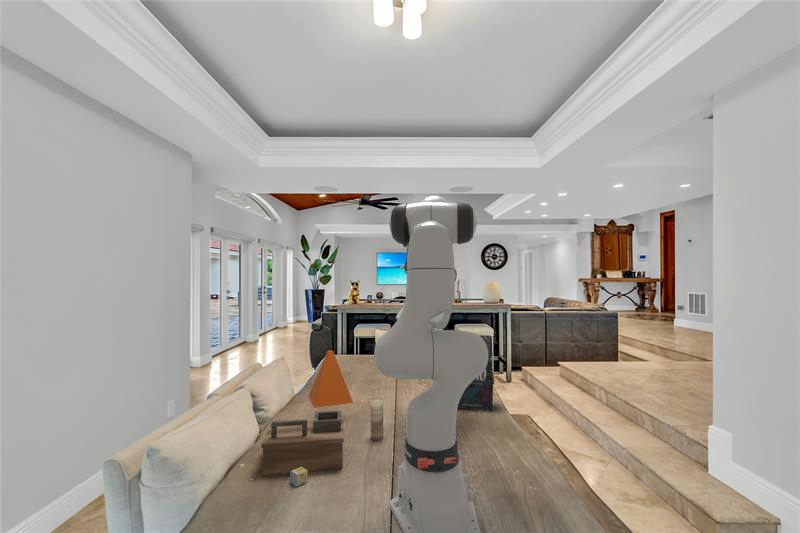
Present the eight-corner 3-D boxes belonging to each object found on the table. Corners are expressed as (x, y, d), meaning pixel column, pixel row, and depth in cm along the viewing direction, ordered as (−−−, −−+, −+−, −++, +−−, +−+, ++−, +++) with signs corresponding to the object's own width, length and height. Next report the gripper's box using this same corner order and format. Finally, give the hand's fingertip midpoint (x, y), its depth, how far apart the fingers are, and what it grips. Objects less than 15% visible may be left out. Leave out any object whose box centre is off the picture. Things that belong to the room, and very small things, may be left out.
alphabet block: (290, 482, 93) (290, 470, 93) (301, 477, 95) (301, 465, 95) (296, 487, 91) (296, 475, 91) (307, 482, 93) (307, 470, 93)
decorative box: (493, 411, 141) (492, 337, 142) (449, 409, 144) (449, 336, 144) (491, 404, 149) (491, 334, 150) (449, 402, 152) (449, 333, 152)
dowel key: (383, 440, 117) (383, 401, 117) (371, 440, 116) (371, 402, 117) (382, 434, 121) (382, 397, 121) (370, 435, 120) (370, 397, 121)
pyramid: (353, 403, 151) (353, 353, 152) (313, 408, 145) (314, 356, 146) (344, 391, 166) (344, 346, 166) (308, 395, 160) (308, 349, 160)
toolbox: (343, 469, 100) (343, 423, 100) (261, 475, 96) (261, 428, 97) (343, 445, 113) (343, 405, 113) (271, 450, 110) (271, 409, 110)
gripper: (403, 296, 140) (385, 325, 132) (449, 299, 126) (432, 331, 119) (411, 308, 143) (393, 337, 135) (456, 311, 130) (440, 344, 122)
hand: (412, 334), depth 127 cm, fingers open, 8 cm apart
